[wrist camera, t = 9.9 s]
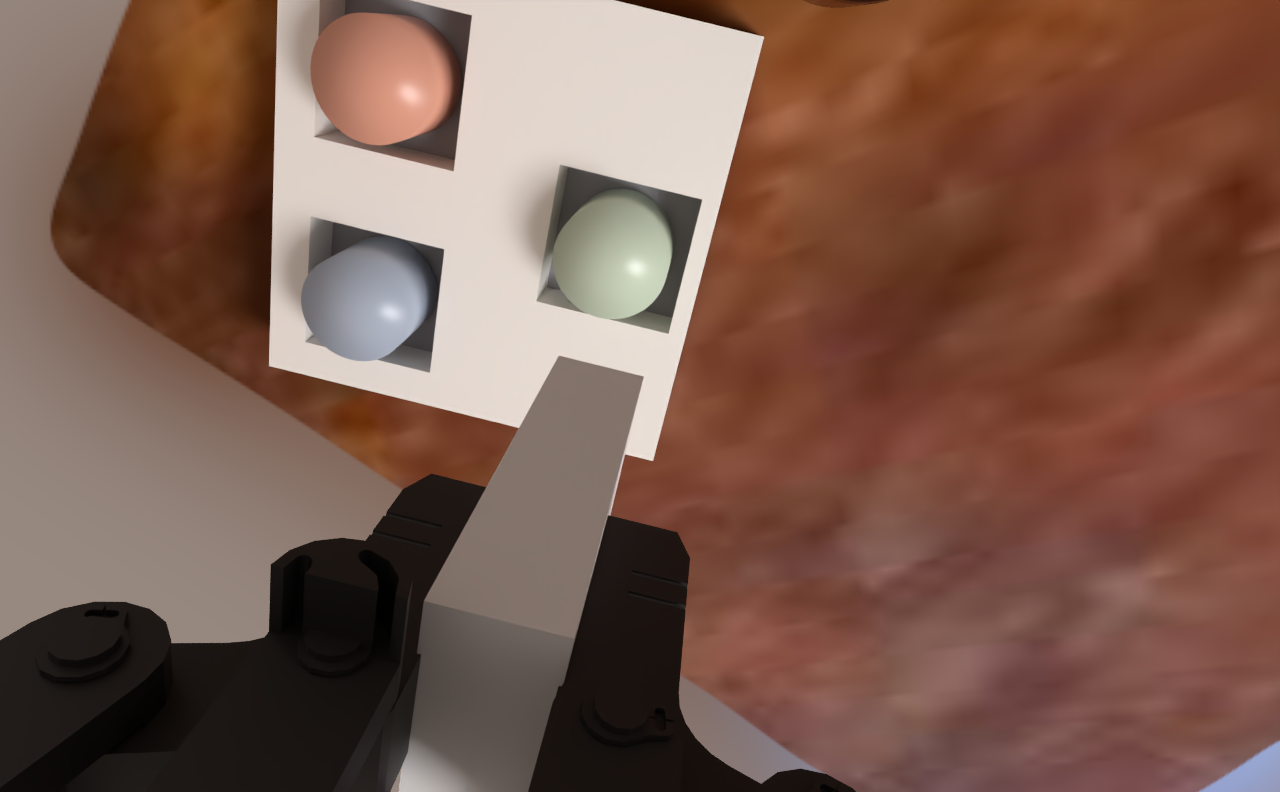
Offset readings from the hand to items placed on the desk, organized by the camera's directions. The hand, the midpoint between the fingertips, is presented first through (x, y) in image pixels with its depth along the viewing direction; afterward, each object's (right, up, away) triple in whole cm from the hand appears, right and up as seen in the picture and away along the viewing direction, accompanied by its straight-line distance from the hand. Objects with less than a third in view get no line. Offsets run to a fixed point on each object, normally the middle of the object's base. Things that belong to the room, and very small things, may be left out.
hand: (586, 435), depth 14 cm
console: (-6, +10, +25) cm, 28 cm away
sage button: (0, +8, +24) cm, 25 cm away
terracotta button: (-9, +15, +22) cm, 28 cm away
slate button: (-12, +6, +26) cm, 29 cm away
